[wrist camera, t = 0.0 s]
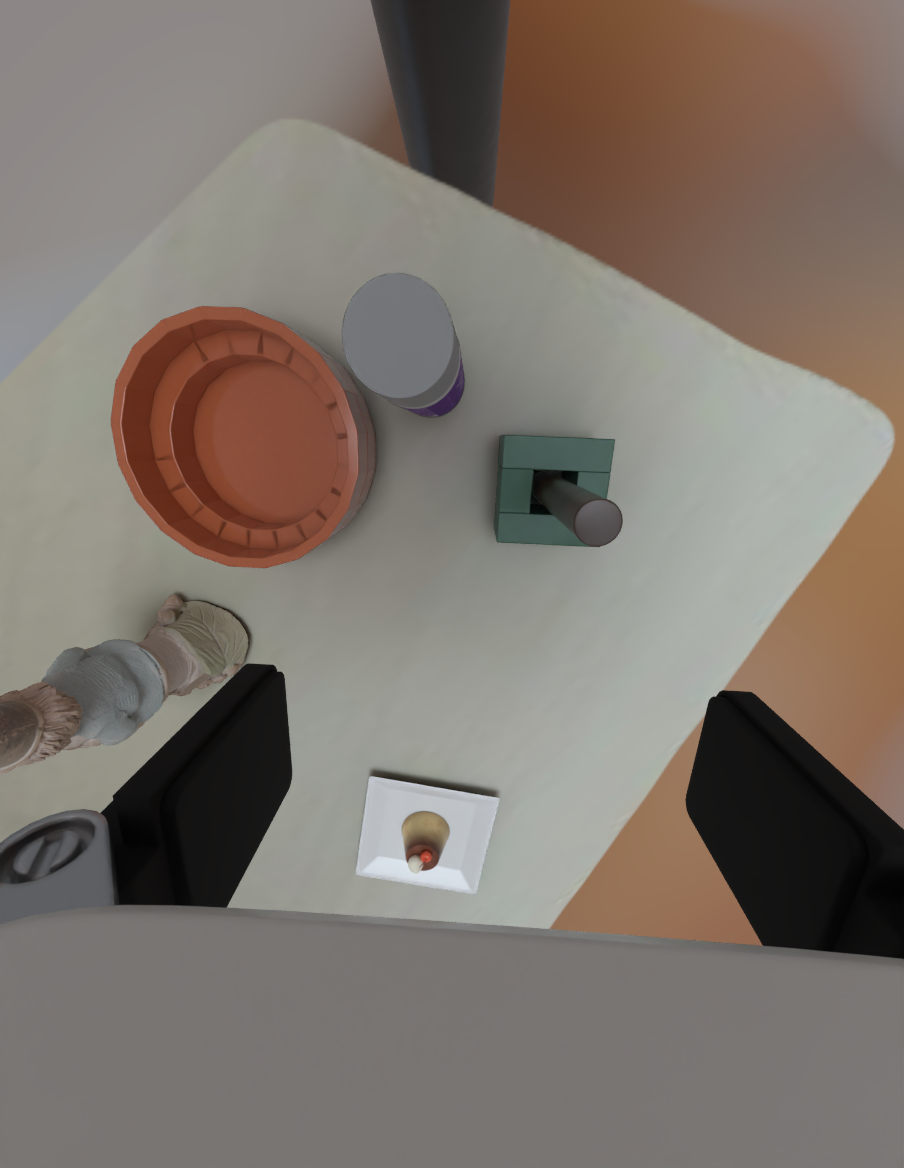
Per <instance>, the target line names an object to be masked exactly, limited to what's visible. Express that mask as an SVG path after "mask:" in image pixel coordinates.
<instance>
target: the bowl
mask: <svg viewBox="0 0 904 1168" xmlns="http://www.w3.org/2000/svg"><path fill="white" fill-rule="evenodd" d="M111 427H112V433H113V439H114V444H115V450H116V455H117V461H118V465H119V467H120V469H121V471H122V473H123V475H124V477H125V479H126V481H127V484H128V486H129V488H130V490H131V492H132V494H133V496H134V498H135V500H136V501H137V503H138V504H139V505H140V506H141V507H142V508H143V510H144V511H145V512H146V513H147V514H148V516H149V517H150V518H151V519H152V520H153V521H154V523H155V524H156V525H157V526H158V527H159V529H160V530H161V531H162V532H164V533H165V534H167V535H168V536H169V537H171V538H172V539H174V540H175V541H177V542H178V543H179V544H181V545H182V546H184V547H185V548H186V549H188V550H189V551H191V552H192V553H194V554H196V555H199V556H201V557H204V558H207V559H210V560H213V561H215V562H218V563H221V564H224V565H227V566H232V567H252V568H268V567H272V566H275V565H279V564H283V563H286V562H290V561H294V560H297V559H299V558H301V557H303V556H304V555H305V554H307V553H308V552H310V551H311V550H313V549H314V548H316V547H317V546H319V545H320V544H321V543H323V542H324V541H326V540H327V539H329V538H330V537H331V536H333V535H334V534H336V533H337V532H339V531H340V530H342V529H343V528H344V527H346V526H347V525H348V524H349V523H350V521H351V520H352V519H353V517H354V516H355V514H356V513H357V512H358V510H359V509H360V507H361V506H362V505H363V503H364V502H365V501H366V498H367V495H368V491H369V488H370V485H371V482H372V478H373V475H374V472H375V467H376V462H375V431H374V428H373V424H372V421H371V418H370V415H369V412H368V408H367V405H366V402H365V399H364V397H363V395H362V394H361V392H360V391H359V389H358V388H357V386H356V385H355V383H354V382H353V380H352V379H351V377H350V376H349V374H348V373H347V371H346V370H345V368H344V367H343V366H342V365H341V364H340V363H339V362H338V361H336V360H335V359H334V358H333V357H331V356H330V355H329V354H328V353H327V352H325V351H324V350H323V349H322V348H320V347H319V346H318V345H317V344H316V343H314V342H313V341H311V340H310V339H308V338H306V337H305V336H303V335H301V334H300V333H298V332H296V331H295V330H293V329H291V328H290V327H288V326H286V325H285V324H283V323H281V322H278V321H275V320H273V319H270V318H268V317H265V316H263V315H260V314H258V313H255V312H253V311H250V310H248V309H245V308H241V307H212V306H201V307H196V308H194V309H191V310H188V311H185V312H182V313H180V314H177V315H174V316H171V317H168V318H166V319H163V320H161V321H160V322H159V323H158V324H157V325H156V326H155V327H153V328H152V329H151V330H150V331H149V332H148V333H147V334H146V335H145V336H144V337H142V338H141V339H140V340H139V341H138V342H137V343H136V344H135V345H134V346H133V347H132V349H131V351H130V353H129V355H128V357H127V359H126V362H125V364H124V366H123V368H122V370H121V372H120V374H119V376H118V378H117V380H116V383H115V390H114V398H113V407H112V415H111Z"/></svg>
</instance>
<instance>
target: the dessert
mask: <svg viewBox="0 0 904 1168" xmlns="http://www.w3.org/2000/svg"><path fill="white" fill-rule="evenodd" d="M498 804H499V798H495V797H489V796H484V795H478V794H472V793H466V792H460V791H455V790H449V789H443V788H437V787H431V786H426V785H420V784H414V783H408V782H402V781H397V780H391V779H385V778H379V777H373V776H370V777H369V781H368V789H367V796H366V803H365V810H364V817H363V824H362V832H361V839H360V846H359V853H358V860H357V868H356V875H361V876H367V877H373V878H378V879H384V880H390V881H396V882H402V883H408V884H414V885H419V886H425V887H431V888H437V889H443V890H449V891H455V892H460V893H466V894H472V895H475V894H476V891H477V887H478V884H479V880H480V876H481V872H482V868H483V864H484V860H485V856H486V852H487V848H488V844H489V840H490V836H491V832H492V828H493V824H494V820H495V816H496V812H497V808H498Z"/></svg>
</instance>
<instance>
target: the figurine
mask: <svg viewBox="0 0 904 1168" xmlns="http://www.w3.org/2000/svg"><path fill="white" fill-rule="evenodd" d="M161 607H162V609H159V610H158V612H157V617H158V621H157V624H155V626H154V627H153V628H152V629H151V630H150V631H149V632H148V634H147V635H146V637H145V639H144V640H143V641H141V642H139V643H134V642H133V641H130V640H109V641H105V642H103V643H101V644H100V645H97V646H95V647H92V648H88V649H85V650H84V649H82V648H79V647H75V648H70V649H67V650H64V651H63V652H62V653H61V655H60V656H58V657H57V658H56V660H55V661H54V663H53V664H52V666H51V667H50V668H49V669H48V670H47V672H46V675H45V677H44V678H43V679H42V680H41V682H39V683H36V684H33V685H31V686H29V687H28V688H26V689H23V690H21V691H18V690H15V691H11V692H8V693H5V694H4V695H2V696H0V774H3V773H7V772H9V771H11V770H12V769H14V768H16V767H17V766H22V765H28V764H32V763H34V762H38V761H42V760H45V757H49V756H54V755H56V753H59V752H60V751H61V750H73V749H77V748H87V747H90V746H98V745H101V744H103V745H115V744H118V743H120V742H122V741H124V740H126V739H127V738H129V737H130V736H131V735H132V734H134V733H135V732H136V731H137V729H138V728H140V727H141V726H142V725H143V724H144V723H145V722H146V721H147V720H148V719H150V718H151V717H152V716H153V715H154V713H155V712H157V711H158V710H159V709H160V707H161V706H162V703H163V702H164V701H165V700H166V699H167V697H168V695H178V696H184V695H187V694H190V693H191V691H192V690H193V689H195V688H199V689H202V688H205V687H208V686H209V685H211V684H212V682H213V683H217V682H218V683H220V682H222V681H223V680H225V679H226V677H227V675H228V676H232V675H234V674H235V673H236V672H237V671H238V669H239V667H240V666H241V665H242V663H243V661H244V657H245V654H246V652H247V648H248V636H247V634H246V631H245V629H244V628H243V626H242V625H241V624H240V622H239V621H238V620H237V619H235V617H233V615H232V614H231V613H229V612H228V611H226V610H223V609H221V608H219V607H218V608H217V607H216V606H214V605H210V604H208V603H205V602H200V601H190V602H183V601H182V600H181V599H180V598H179V597H178V596H177V595H176V594H173V595H171V596H169V597H168V598H167V599H166V600H165V602H164V605H162V606H161Z"/></svg>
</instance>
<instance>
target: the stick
mask: <svg viewBox="0 0 904 1168" xmlns="http://www.w3.org/2000/svg"><path fill="white" fill-rule="evenodd" d="M531 494H532V495H533V496H534V497H535V498H536V499H537V500H538V501H539V502H540V503H541V504H542V505H543V506H545V507H546V508H547V509H548V510H549V511H550V512H551V513H552V514H553V515H554V516H555V517H556V518H557V519H558V520H559V521H560V522H561V523H562V524H563V525H564V526H565V527H566V528H567V529H568V530H569V531H571V532H572V533H573V534H574V535H575V536H576V537H577V538H578V539H579V540H580V541H581V542H582V543H584V544H586V545H588V546H593V547H599V546H603V545H606V544H608V543H610V542H611V541H613V540H614V539H615V538H616V537H617V535H618V534H619V532H620V530H621V528H622V522H623V519H622V514H621V511H620V509H619V508H618V506H617V505H616V504H615V503H613V502H612V501H610V500H608V499H605V498H603V497H601V496H599V495H597V494H594V493H592V492H590V491H588V490H586V489H583V488H581V487H579V486H577V485H575V484H572V483H570V482H568V481H566V480H564V479H562V478H559V477H557V476H555V475H553V474H551V473H548V472H538V473H536V474H535V475H534V476H533V482H532V493H531Z"/></svg>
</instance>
